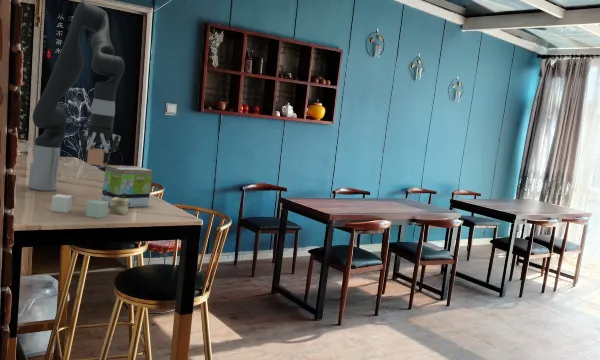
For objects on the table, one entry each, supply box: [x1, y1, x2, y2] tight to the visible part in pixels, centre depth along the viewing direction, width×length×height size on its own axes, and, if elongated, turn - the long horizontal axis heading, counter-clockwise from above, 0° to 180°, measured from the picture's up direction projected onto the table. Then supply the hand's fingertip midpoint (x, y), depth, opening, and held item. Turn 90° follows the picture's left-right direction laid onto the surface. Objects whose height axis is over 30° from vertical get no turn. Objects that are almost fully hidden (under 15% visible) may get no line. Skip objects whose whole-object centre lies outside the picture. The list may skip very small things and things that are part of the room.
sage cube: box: [84, 199, 109, 219], centre depth 175 cm, size 5×5×5 cm
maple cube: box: [109, 197, 129, 216], centre depth 185 cm, size 5×5×5 cm
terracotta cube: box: [86, 147, 108, 167], centre depth 179 cm, size 5×5×5 cm
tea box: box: [100, 164, 154, 208], centre depth 199 cm, size 15×10×15 cm, turn 148°
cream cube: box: [50, 193, 73, 214], centre depth 175 cm, size 5×5×5 cm
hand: (97, 162), depth 179 cm, fingers closed on terracotta cube, 5 cm apart
